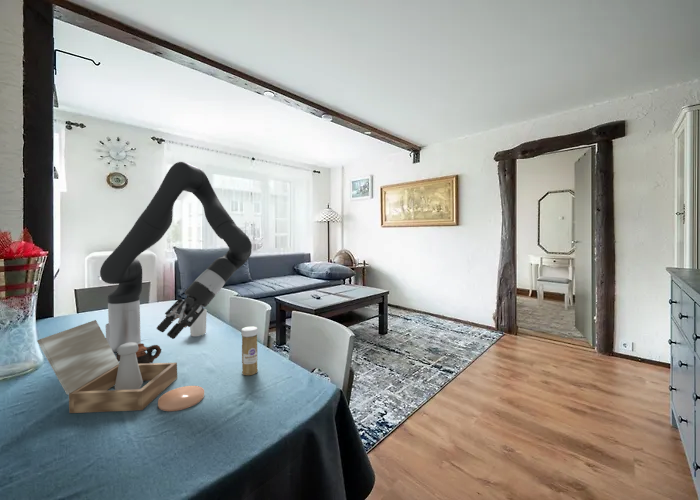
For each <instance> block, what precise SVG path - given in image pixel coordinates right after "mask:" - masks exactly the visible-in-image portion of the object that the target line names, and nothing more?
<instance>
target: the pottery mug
mask: <svg viewBox="0 0 700 500" xmlns="http://www.w3.org/2000/svg"><path fill="white" fill-rule="evenodd" d="M153 351H155V353H154V355H153V354H152V353H153ZM161 353H162V348H161V347H160V345H158V344H153V345H151V346H150V345H149V346H148V347H147V346H145V343H142V342H141V344H138V351H137V352H136V357H137V361H138V364H147V363H154V361H155V360H156V359H157V358H159V356H160V355H161ZM115 356H116V358H117V360H118V362H120V356H121V355H119V354H118V352H115Z"/></svg>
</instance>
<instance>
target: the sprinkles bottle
mask: <svg viewBox="0 0 700 500" xmlns="http://www.w3.org/2000/svg"><path fill="white" fill-rule="evenodd" d="M258 329H259V328H258V327H257V326H253V325H252V326H245V327H243V328H241V335H240V336H241V341H242V342H241V364H242V368H241V369H242V370H241V374H242V375H243V376H253V375H256V374H257V373H258V371H259V370H258V369H259V368H258V333H259V331H258Z"/></svg>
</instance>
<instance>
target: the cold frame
mask: <svg viewBox="0 0 700 500" xmlns="http://www.w3.org/2000/svg"><path fill="white" fill-rule="evenodd" d="M36 342H37V344H38V345H39V346H40V349H41V351H42V352H43V354H44V357H45V358H46V360H47V361H48V363H49V365H50V367H51V369H52V371H53V373H54V374H55V376H56V378H57V380H58V381H59V383H60V385H61V387H62V388H63V391H65V392H64V393H65V394H66V395H68V409H69V411H68V412H69V414H77V413H78V414H79V413H81V414H83V413H99V412H100V413H102V412H103V413H105V412H127V411H129V412H131V411H143V410H144V409H145V408H146V407H148V406H149V404H151V403H152V402H153V401H154V400H155V399H157V398H158V397H159V395H160V394H162V393H163V392H164V391H165V390H166V389H167V388H168V387H169V386H170V385H172V383H174V382H175V381H176V380H177V379H178V362H155V363H154V362H153V363H147V364H138V365H139V369H140V373H141V376H142V380H143V382H144V381H145V382H148V383H146V384H144V386H143V385H142V386H141V387H140V389H133V390H115V389H111V388H112V387H113V388H114V387H115V382H116V377H117V372H118V367H119V361H118V360H117V358H116V357H117V356H116V354H115V352H113V351H112V349H111V347H110V345H109V343H108V342H107V340H106V335H104V333H103V331H102V329H101V327H100V324H99V323H98V322H97V320H96V319H94V320H92V321H88V322H85V323H83V324H80V325H77V326H74V327H71V328H68V329H65V330H63V331H60V332H57V333H54V334H50V335H49V336H45V337H42V338H40V339H37V340H36Z"/></svg>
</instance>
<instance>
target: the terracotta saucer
mask: <svg viewBox="0 0 700 500" xmlns="http://www.w3.org/2000/svg"><path fill="white" fill-rule="evenodd" d="M204 397H205V389H204V388H203V387H201V386H199V385H198V386H197V385H185V386H180V387H177V388H176V387H175V388H174V389H170V390H168V391H167V392H165V393H163V394H162V395H161V396H160V397H159V398H158V400H157V407H158V409H159V410H161V411H163V412H178V411H182V410H186V409H188V408H191V407H193V406H196V405H198V404H199V403H200V402H201V401H202V400H203V399H204Z"/></svg>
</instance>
